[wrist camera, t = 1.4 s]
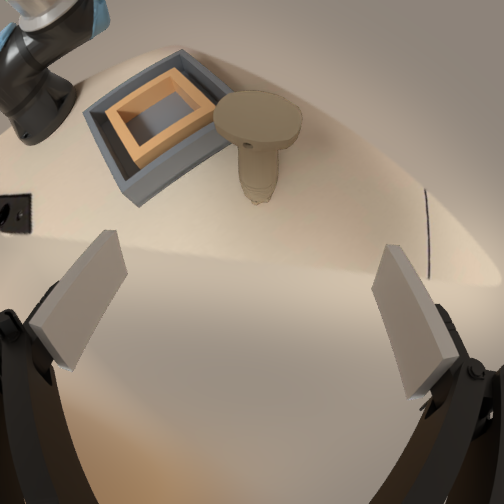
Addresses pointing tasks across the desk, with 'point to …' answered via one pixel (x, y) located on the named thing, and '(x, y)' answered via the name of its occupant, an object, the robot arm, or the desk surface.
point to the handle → (257, 136)
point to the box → (158, 125)
